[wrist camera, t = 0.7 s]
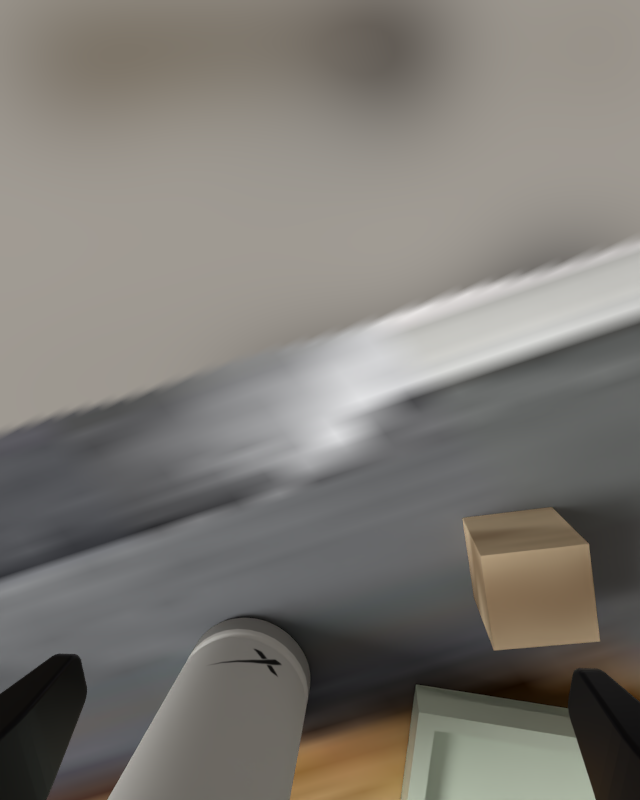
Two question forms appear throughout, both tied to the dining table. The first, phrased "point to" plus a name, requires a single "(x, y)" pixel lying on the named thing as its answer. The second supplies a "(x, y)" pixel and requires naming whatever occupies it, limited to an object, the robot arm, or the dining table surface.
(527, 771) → the dish
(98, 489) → the dining table surface
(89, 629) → the dining table surface
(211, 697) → the travel mug
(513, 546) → the oak cube
